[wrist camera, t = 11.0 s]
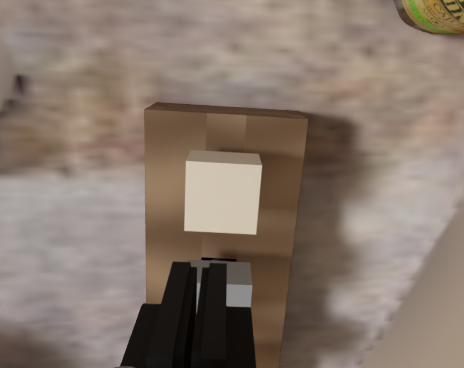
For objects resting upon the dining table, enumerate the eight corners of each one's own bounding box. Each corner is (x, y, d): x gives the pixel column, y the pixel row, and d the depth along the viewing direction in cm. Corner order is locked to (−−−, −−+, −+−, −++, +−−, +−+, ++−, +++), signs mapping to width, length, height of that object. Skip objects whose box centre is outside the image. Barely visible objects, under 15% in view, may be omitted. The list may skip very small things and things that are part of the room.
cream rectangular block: (196, 136, 26) (185, 161, 20) (254, 140, 26) (262, 165, 20) (194, 191, 28) (184, 230, 21) (250, 194, 28) (256, 234, 21)
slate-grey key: (193, 232, 28) (182, 281, 22) (247, 235, 28) (252, 285, 22) (191, 280, 29) (181, 340, 23) (243, 282, 29) (247, 343, 23)
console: (156, 102, 27) (144, 109, 23) (297, 111, 27) (308, 119, 23) (156, 417, 36) (147, 459, 32) (263, 421, 36) (267, 464, 32)
